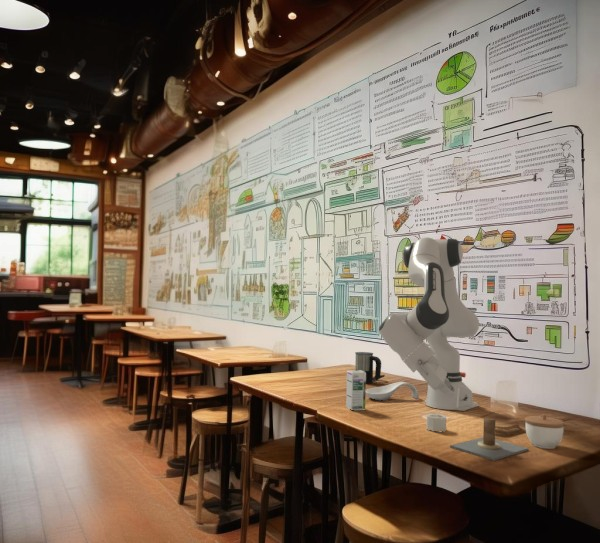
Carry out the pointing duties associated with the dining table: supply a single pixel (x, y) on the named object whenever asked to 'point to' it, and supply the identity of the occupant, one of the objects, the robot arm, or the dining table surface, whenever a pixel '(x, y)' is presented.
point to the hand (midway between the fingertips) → (452, 393)
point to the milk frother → (368, 365)
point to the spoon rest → (389, 391)
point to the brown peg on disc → (489, 436)
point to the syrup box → (356, 390)
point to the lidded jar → (544, 431)
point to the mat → (473, 448)
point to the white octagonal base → (436, 422)
